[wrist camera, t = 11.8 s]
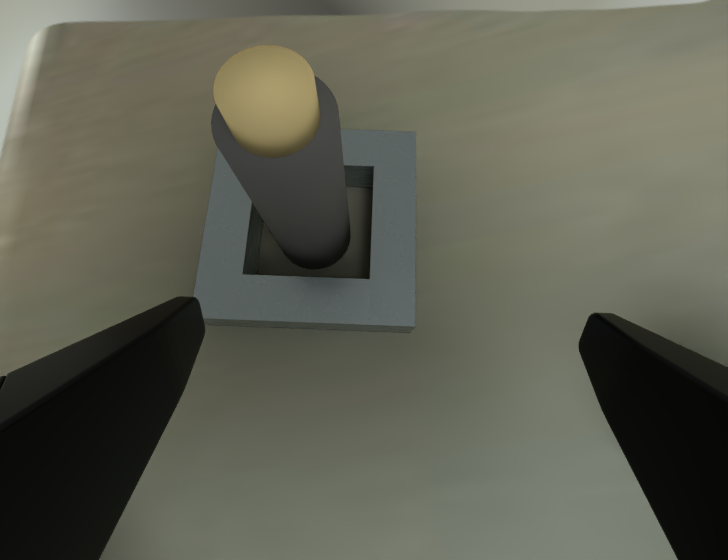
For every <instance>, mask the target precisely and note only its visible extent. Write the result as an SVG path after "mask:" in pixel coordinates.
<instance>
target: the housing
mask: <svg viewBox="0 0 728 560" xmlns="http://www.w3.org/2000/svg"><path fill="white" fill-rule="evenodd" d="M340 131H341V141H342V151H343V161H344V172H345V182H346V186H347V187H373V203H372V230H371V257H370V279H352V278H325V277H299V276H272V275H257V266H258V258H259V250H260V242H261V233H262V225H263V219H262V217H261V215H260V214H259V212H258V211H257V209H256V208H255V206H254V204H253V203H252V201H251V200H250V198H249V196H248V195H247V193H246V192H245V190H244V188H243V187H242V185H241V184H240V182H239V180H238V179H237V177H236V176H235V174H234V172H233V171H232V169H231V168H230V166H229V164H228V163H227V161H226V160H225V158H224V156H223V155H222V153H221V152H220V150H219V148H218V149H217V155H216V161H215V167H214V173H213V179H212V185H211V191H210V197H209V203H208V209H207V215H206V221H205V227H204V234H203V240H202V246H201V252H200V258H199V264H198V270H197V276H196V282H195V288H194V294H193V297H195V298H197V299H198V300H199V303H200V306H201V311H202V315H203V320H204V323H205V324H208V325H225V326H250V327H276V328H301V329H326V330H352V331H377V332H403V333H410V332H411V331H412V330H413V329H414V328H415V309H416V132H412V131H381V130H350V129H340Z"/></svg>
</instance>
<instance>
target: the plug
mask: <svg viewBox="0 0 728 560" xmlns="http://www.w3.org/2000/svg"><path fill="white" fill-rule="evenodd" d="M213 94H214V99H215V102H216V105H215V107H214V110H213V114H212V121H211V126H212V134H213V138H214V140H215V143H216V145H217V147H218V148H219V150H220V152H221V153H222V155H223V156H224V158H225V160H226V161H227V163H228V164H229V166H230V168H231V169H232V171H233V172H234V174H235V176H236V177H237V179H238V180H239V182H240V184H241V185H242V187H243V188H244V190H245V192H246V193H247V195H248V196H249V198H250V200H251V201H252V203H253V204H254V206H255V208H256V209H257V211H258V212H259V214H260V215H261V217H262V219H263V220H264V222H265V223H266V225H267V227H268V228H269V230H270V231H271V233H272V235H273V236H274V238H275V239H276V241H277V243H278V244H279V246H280V247H281V249H282V251H283V252H284V254H285V255H286V257H287V258H288V259H289V260H290V261H291V262H293V263H294V264H296V265H297V266H299V267H302V268H306V269H322V268H326V267H329V266H331V265H333V264H334V263H336V262H337V261H338V260H340V259H341V258H342V256H343V255H344V254H345V252H346V251H347V249H348V246H349V243H350V223H349V213H348V203H347V192H346V182H345V172H344V161H343V151H342V141H341V131H340V120H339V111H338V106H337V103H336V100H335V98H334V96H333V94H332V92H331V91H330V89H329V88H328V87H327V86H326V85H325V84H324V83H323V82H322V81H321V80H320V79H319V78H317V77H316V76H314V74H313V71H312V69H311V67H310V65H309V64H308V62H307V61H306V60H305V59H304V58H303V57H302V56H300V55H299V54H298V53H296V52H294V51H292V50H290V49H288V48H285V47H281V46H276V45H260V46H255V47H250V48H247V49H245V50H242V51H240V52H238V53H237V54H235V55H233V56H232V57H231V58H229V59H228V60H227V61H226V62H225V63H224V64H223V66H222V67H221V68H220V70H219V71H218V73H217V75H216V78H215V81H214V87H213Z"/></svg>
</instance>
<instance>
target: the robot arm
mask: <svg viewBox="0 0 728 560" xmlns="http://www.w3.org/2000/svg"><path fill="white" fill-rule="evenodd" d="M204 335H205V324H204V320H203V315H202V311H201V306H200V303H199V300H198V299H197V298H195V297H184V296H180V297H176V298H174V299H171V300H169V301H167V302H165V303H163V304H160V305H158V306H156V307H154V308H151V309H149V310H147V311H145V312H143V313H140V314H138V315H136V316H134V317H132V318H129V319H127V320H125V321H123V322H121V323H118V324H116V325H114V326H112V327H109V328H107V329H105V330H103V331H101V332H98V333H96V334H94V335H92V336H90V337H87V338H85V339H83V340H81V341H79V342H76V343H74V344H72V345H70V346H67V347H65V348H63V349H61V350H59V351H56V352H54V353H52V354H50V355H48V356H45V357H43V358H41V359H39V360H37V361H34V362H32V363H30V364H28V365H25V366H23V367H21V368H19V369H17V370H14V371H12V372H10V373H8V374H7V376H1V377H0V560H99V558H100V556H101V554H102V553H103V551H104V549H105V547H106V545H107V543H108V541H109V539H110V537H111V535H112V533H113V531H114V529H115V527H116V525H117V523H118V521H119V519H120V517H121V515H122V513H123V511H124V509H125V507H126V505H127V503H128V501H129V499H130V497H131V495H132V493H133V491H134V489H135V487H136V485H137V483H138V481H139V479H140V477H141V475H142V473H143V471H144V469H145V467H146V465H147V463H148V461H149V460H150V458H151V456H152V454H153V452H154V450H155V448H156V446H157V444H158V442H159V440H160V438H161V436H162V434H163V432H164V430H165V428H166V426H167V424H168V422H169V420H170V418H171V416H172V414H173V412H174V410H175V408H176V406H177V404H178V402H179V400H180V398H181V396H182V394H183V391H184V389H185V387H186V384H187V381H188V379H189V376H190V373H191V371H192V368H193V365H194V362H195V360H196V357H197V354H198V352H199V349H200V346H201V343H202V341H203V338H204ZM579 352H580V355H581V357H582V360H583V362H584V365H585V368H586V370H587V373H588V376H589V378H590V381H591V383H592V386H593V389H594V391H595V394H596V397H597V399H598V402H599V404H600V406H601V409H602V411H603V413H604V415H605V417H606V419H607V422H608V424H609V425H610V427H611V429H612V431H613V433H614V435H615V437H616V439H617V441H618V443H619V445H620V447H621V449H622V451H623V453H624V455H625V457H626V459H627V461H628V463H629V465H630V467H631V469H632V471H633V473H634V475H635V476H636V478H637V480H638V482H639V484H640V486H641V488H642V490H643V492H644V494H645V496H646V498H647V500H648V502H649V504H650V506H651V508H652V510H653V512H654V514H655V516H656V518H657V520H658V522H659V524H660V526H661V527H662V529H663V531H664V533H665V535H666V537H667V539H668V541H669V543H670V545H671V547H672V549H673V551H674V553H675V555H676V557H677V559H678V560H728V367H726V366H723V365H721V364H719V363H717V362H715V361H713V360H711V359H708V358H706V357H704V356H702V355H700V354H698V353H696V352H694V351H691V350H689V349H687V348H685V347H683V346H681V345H679V344H677V343H674V342H672V341H670V340H668V339H666V338H664V337H662V336H659V335H657V334H655V333H653V332H651V331H649V330H647V329H645V328H642V327H640V326H638V325H636V324H634V323H632V322H630V321H627V320H625V319H623V318H621V317H619V316H617V315H615V314H612V313H593V314H591V315H590V316H589V318H588V320H587V322H586V325H585V328H584V330H583V333H582V335H581V338H580V341H579Z"/></svg>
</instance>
